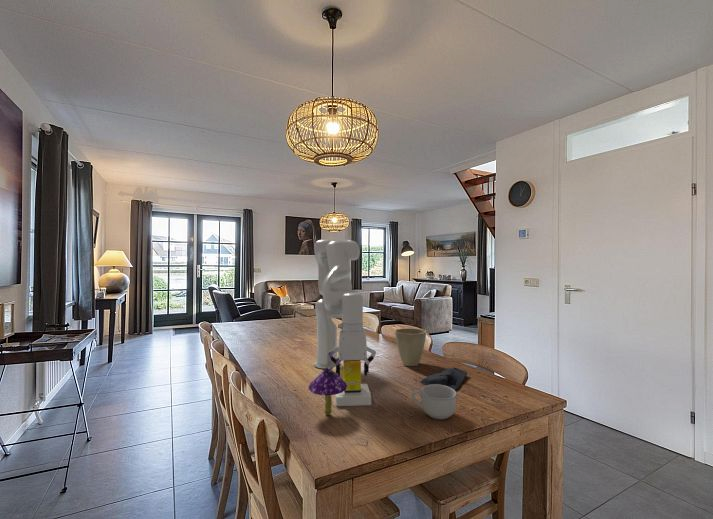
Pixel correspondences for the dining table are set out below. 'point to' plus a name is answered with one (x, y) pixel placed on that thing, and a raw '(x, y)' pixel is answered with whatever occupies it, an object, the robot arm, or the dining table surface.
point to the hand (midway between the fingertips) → (352, 374)
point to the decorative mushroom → (328, 386)
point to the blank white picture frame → (354, 397)
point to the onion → (340, 371)
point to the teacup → (437, 400)
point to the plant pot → (410, 345)
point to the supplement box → (352, 376)
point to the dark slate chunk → (446, 378)
